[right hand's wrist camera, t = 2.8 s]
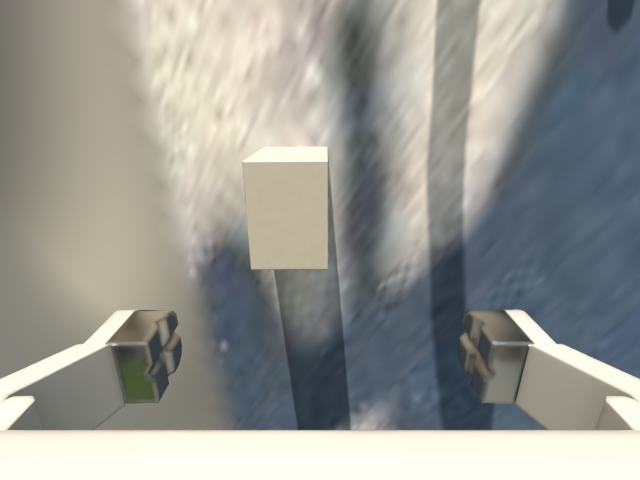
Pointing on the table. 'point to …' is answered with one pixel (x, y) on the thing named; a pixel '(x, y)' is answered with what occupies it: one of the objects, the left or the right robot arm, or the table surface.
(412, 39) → the table surface
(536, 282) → the table surface
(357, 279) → the table surface
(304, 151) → the brick
